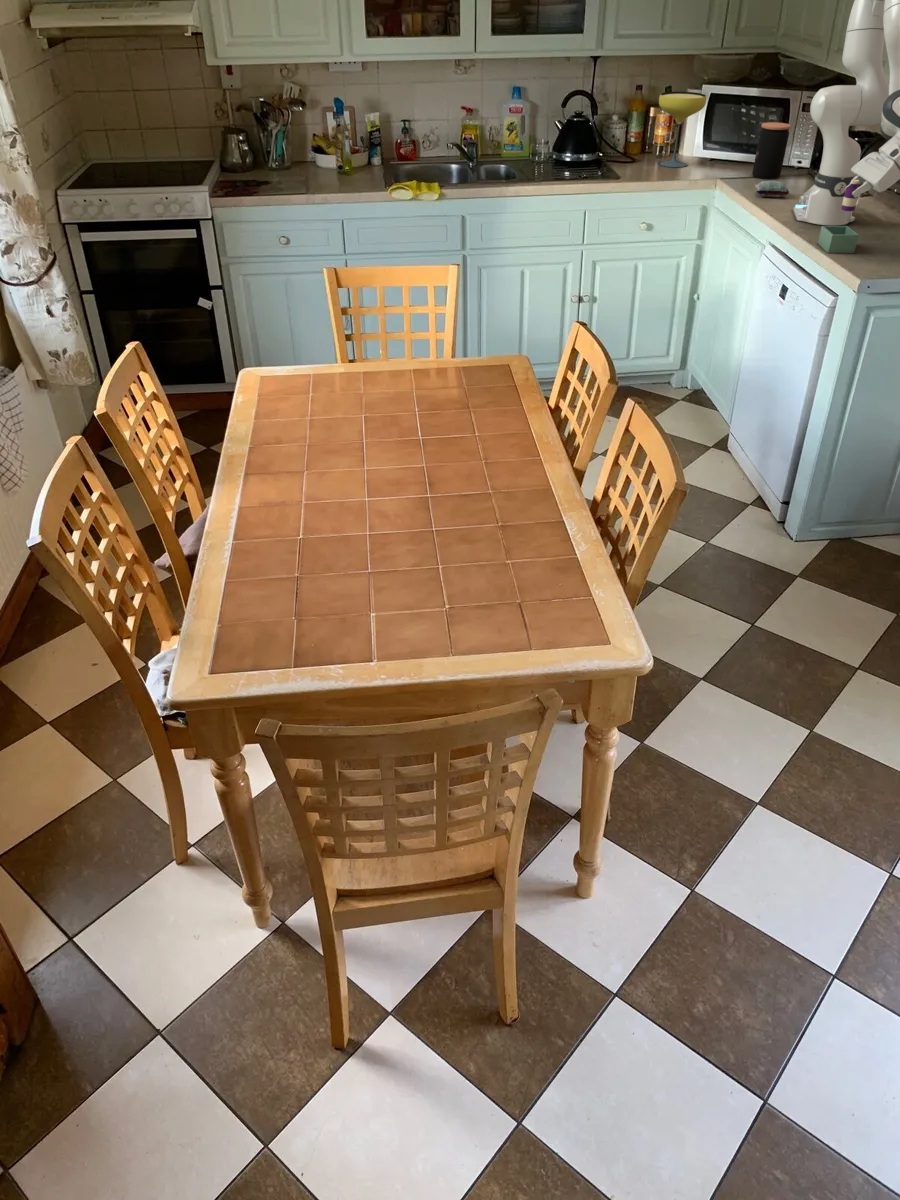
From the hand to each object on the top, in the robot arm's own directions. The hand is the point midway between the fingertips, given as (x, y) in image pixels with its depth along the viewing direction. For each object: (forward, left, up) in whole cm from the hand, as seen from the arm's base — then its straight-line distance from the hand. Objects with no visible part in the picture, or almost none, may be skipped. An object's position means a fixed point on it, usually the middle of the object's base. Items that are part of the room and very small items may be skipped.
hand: (849, 193), depth 258 cm
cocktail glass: (-118, -27, -16) cm, 122 cm away
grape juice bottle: (0, +1, -4) cm, 4 cm away
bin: (0, 0, -15) cm, 15 cm away
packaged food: (-65, -2, -16) cm, 67 cm away
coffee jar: (-97, +5, -16) cm, 98 cm away
